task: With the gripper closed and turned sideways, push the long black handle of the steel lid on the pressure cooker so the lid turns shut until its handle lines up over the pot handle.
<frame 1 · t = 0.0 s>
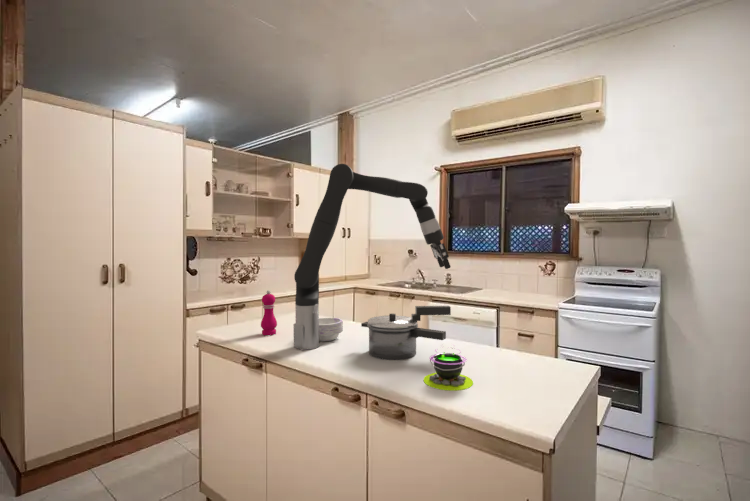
hand: (445, 267, 161), 31 cm above the counter, tool tilted 20°, fingers open, 8 cm apart
lid: (408, 314, 149), point 14 cm above the counter, hinge at 35.0°
cooker pot: (392, 352, 149), on the counter
paper bowls: (325, 339, 170), on the counter
toy cauldron: (448, 382, 119), on the counter
pepper mill: (269, 334, 178), on the counter
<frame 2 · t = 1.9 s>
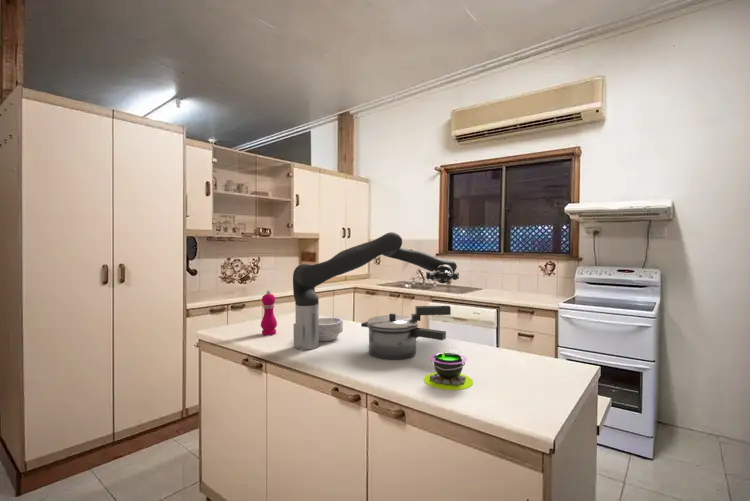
hand: (440, 277, 154), 28 cm above the counter, tool horizontal, fingers open, 5 cm apart
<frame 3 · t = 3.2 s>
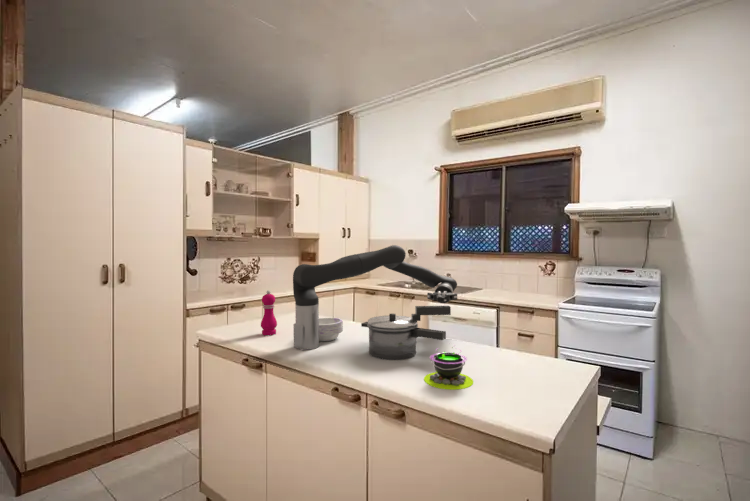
hand: (440, 299, 154), 19 cm above the counter, tool horizontal, fingers closed
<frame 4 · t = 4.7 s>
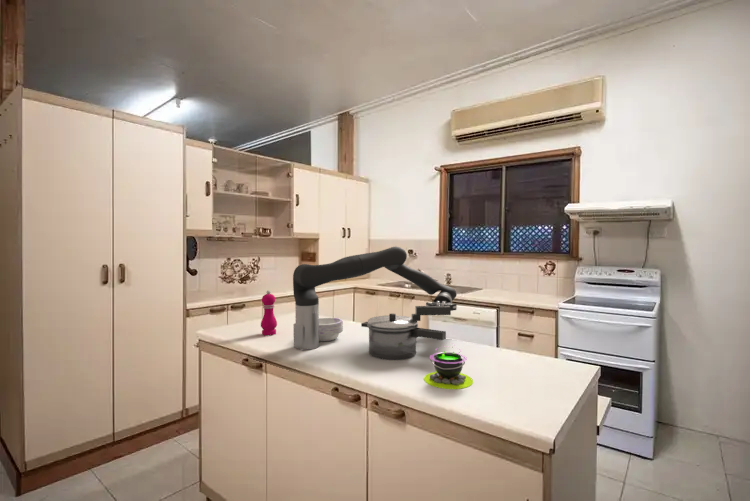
hand: (439, 310, 151), 16 cm above the counter, tool horizontal, fingers closed
lid: (408, 314, 149), point 14 cm above the counter, hinge at 34.5°, touching gripper
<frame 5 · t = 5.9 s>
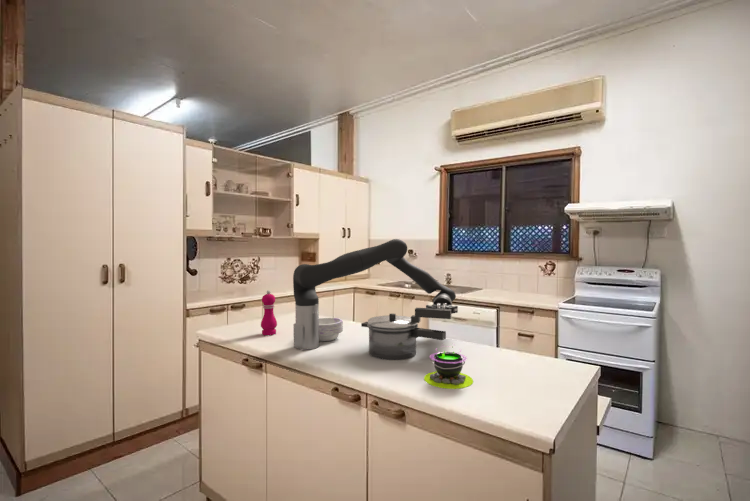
hand: (440, 313, 144), 16 cm above the counter, tool horizontal, fingers closed
lid: (408, 316, 147), point 14 cm above the counter, hinge at 14.6°, touching gripper
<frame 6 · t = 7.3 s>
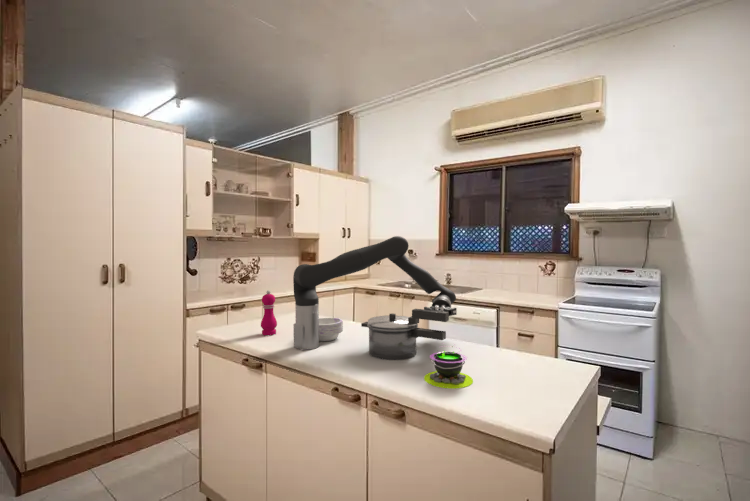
hand: (438, 315, 140), 16 cm above the counter, tool horizontal, fingers closed
lid: (407, 316, 145), point 14 cm above the counter, hinge at 0.6°, touching gripper
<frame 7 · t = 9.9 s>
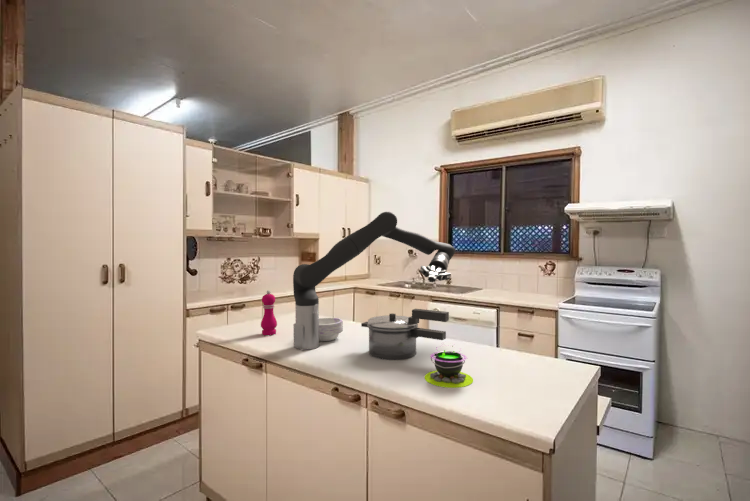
hand: (431, 279, 149), 28 cm above the counter, tool horizontal, fingers closed
lid: (407, 316, 145), point 14 cm above the counter, hinge at 0.6°
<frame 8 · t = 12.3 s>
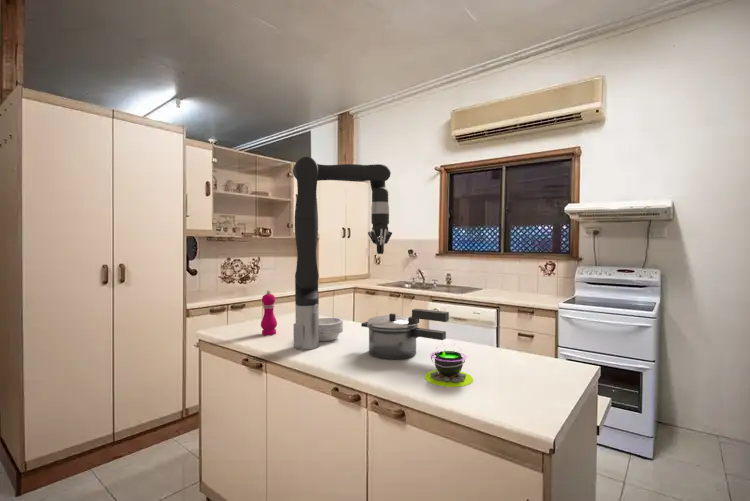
hand: (380, 253, 166), 37 cm above the counter, tool pointing down, fingers closed
at the end: lid at +1° (first picture: +35°) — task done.
